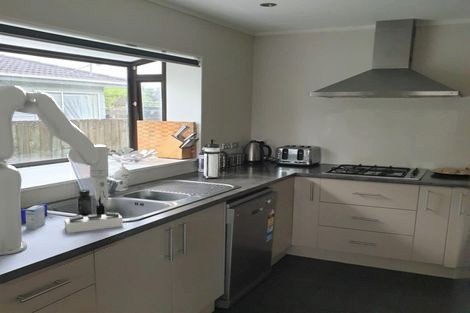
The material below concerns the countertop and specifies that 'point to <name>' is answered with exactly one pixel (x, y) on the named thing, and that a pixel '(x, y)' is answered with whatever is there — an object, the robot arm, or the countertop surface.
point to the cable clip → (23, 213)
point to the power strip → (92, 223)
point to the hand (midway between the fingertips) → (100, 214)
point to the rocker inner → (76, 218)
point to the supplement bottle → (84, 203)
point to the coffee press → (213, 160)
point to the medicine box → (35, 217)
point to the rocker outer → (112, 214)
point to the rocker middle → (94, 216)
